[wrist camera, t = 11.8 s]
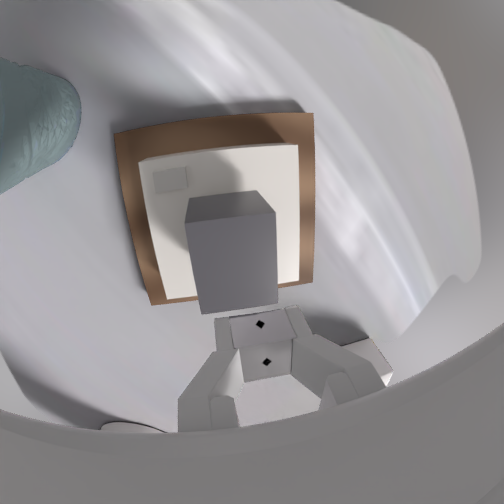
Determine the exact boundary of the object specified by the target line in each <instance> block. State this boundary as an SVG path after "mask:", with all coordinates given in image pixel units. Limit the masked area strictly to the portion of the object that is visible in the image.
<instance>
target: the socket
mask: <svg viewBox="0 0 504 504" xmlns="http://www.w3.org/2000/svg"><path fill="white" fill-rule="evenodd" d="M138 163H139V170H140V177H141V183H142V189H143V195H144V201H145V206H146V211H147V216H148V221H149V226H150V231H151V236H152V240H153V245H154V249H155V254H156V258H157V262H158V266H159V270H160V274H161V278H162V282H163V286H164V289H165V293H166V297H167V299H175V298H183V297H191V296H198V295H197V291H196V286H195V281H194V276H193V270H192V265H191V260H190V254H189V249H188V243H187V237H186V231H185V225H184V223H185V217H186V212H187V206H188V201H189V198H193V197H201V196H209V195H216V194H225V193H233V192H243V191H252V190H257V191H258V192H259V193H260V195H261V196H262V197H263V198H264V199H265V200H266V201H267V203H268V204H269V205H270V206H271V207H272V208H273V210H274V211H275V212H276V230H277V268H278V284H281V283H287V282H293V281H299V244H300V206H299V158H298V145H296V144H291V143H267V144H252V145H240V146H229V147H219V148H210V149H202V150H194V151H187V152H180V153H174V154H168V155H162V156H156V157H150V158H146V159H144V160H142V161H140V162H138Z"/></svg>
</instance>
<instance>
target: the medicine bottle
mask: <svg viewBox="0 0 504 504" xmlns="http://www.w3.org/2000/svg"><path fill="white" fill-rule="evenodd" d="M341 347H343V348H345V349H347V350H349V351H351V352H353V353H355V354H357V355H358V356H360V357H362V358H364V359H366V360H368V361H370V362H371V363H372V365H373V366H374V368H375V369H376V371H377V373H378V374H379V376H380V377H381V379H382V381H383V382H384V384H385V386H386V387H387V384H388V382H389V380H390V378H391V376H392V373H393V369H392V368H391V366H390V365H389V364H388V362H387V361H386V359H385V358H384V356H383V355H382V354H381V352H380V351H379V349H378V348H377V346H376V345H375V344H374V342H373V341H372V339H370V338H368V339H365V340H361V341H358V342H355V343H352V344H348V345H345V346H341Z"/></svg>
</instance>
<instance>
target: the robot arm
mask: <svg viewBox="0 0 504 504" xmlns="http://www.w3.org/2000/svg"><path fill="white" fill-rule="evenodd" d="M229 321H230V322H229ZM214 327H215V337H216V348H217V351H216V352H212V354H211V355H210V356H209V358H208V359H207V360H206V362H205V363H204V365H203V366H202V367H201V369H200V370H199V371H198V373H197V374H196V376H195V377H194V378H193V380H192V381H191V382H190V384H189V385H188V386H187V388H186V389H185V390H184V392H183V393H182V394H181V396H180V397H179V398H178V433H164V432H161V431H159V430H156V429H153V428H150V427H147V426H143V425H138V424H133V423H124V422H114V423H108V424H105V425H103V426H102V427H101V430H93V429H85V428H78V427H71V426H65V425H60V424H54V423H49V422H45V421H40V420H36V419H32V418H27V417H24V416H20V415H17V414H13V413H9V412H6V411H4V410H1V409H0V504H504V323H503V324H501V325H500V326H498V327H497V328H496V329H494V330H493V331H491V332H490V333H488V334H487V335H486V336H484V337H482V338H481V339H479V340H478V341H476V342H475V343H473V344H471V345H470V346H468V347H467V348H465V349H463V350H462V351H460V352H458V353H457V354H455V355H453V356H451V357H450V358H448V359H446V360H444V361H442V362H440V363H438V364H437V365H434V366H433V367H431V368H429V369H427V370H425V371H422V372H421V373H419V374H416V375H414V376H412V377H410V378H408V379H406V380H403V381H401V382H399V383H396V384H394V385H391V386H389V387H386V386H385V384H384V382H383V381H382V379H381V377H380V376H379V374H378V373H377V371H376V369H375V368H374V366H373V365H372V363H371V362H370V361H368V360H366V359H364V358H362V357H360V356H358V355H357V354H355V353H353V352H351V351H349V350H347V349H345V348H343V347H341V346H339V345H337V344H335V343H333V342H331V341H330V340H328V339H326V338H324V337H322V336H320V335H318V334H314V335H313V334H312V332H311V330H310V328H309V326H308V324H307V322H306V320H305V318H304V316H303V314H302V312H301V310H300V308H299V307H298V306H297V305H296V306H292V307H287V308H283V309H278V310H272V311H266V312H260V313H253V314H245V315H238V316H229V317H223V318H214ZM288 374H291V375H292V376H293V377H294V378H295V379H297V380H298V381H299V382H300V383H302V384H303V385H304V386H305V387H307V388H308V389H309V390H311V391H312V392H313V393H314V394H316V395H317V396H318V397H320V398H321V403H320V407H319V410H318V411H315V412H312V413H308V414H304V415H300V416H296V417H291V418H287V419H282V420H277V421H272V422H267V423H262V424H256V425H250V426H243V427H240V424H239V419H238V415H237V411H236V407H235V402H236V400H237V398H238V396H239V394H240V392H241V390H242V387H243V385H244V382H250V381H255V380H260V379H265V378H271V377H277V376H282V375H288Z"/></svg>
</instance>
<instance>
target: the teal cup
mask: <svg viewBox="0 0 504 504" xmlns="http://www.w3.org/2000/svg"><path fill="white" fill-rule="evenodd" d="M80 120H81V102H80V98H79V96H78V93H77V91H76V90H75V88H74V87H73V86H72V85H71V84H70V83H69V82H68V81H66V80H64V79H62V78H60V77H57V76H55V75H52V74H49V73H45V72H43V71H42V70H39V69H35V68H33V67H31V66H27V65H23V66H19V65H18V64H17V63H15V62H10V61H9V60H7V59H3V58H0V194H2V193H4V192H5V191H7V190H8V189H10V188H12V187H13V186H15V185H17V184H18V183H20V182H21V181H23V180H24V179H25V178H28V177H30V176H32V175H34V174H35V173H37V172H39V171H40V170H42V169H44V168H46V167H48V166H50V165H52V164H54V163H56V162H57V161H59V160H60V159H61V158H62V157H63V156H64V155H65V154H66V153H67V152H68V150H69V148H71V147H72V145H73V142H74V140H75V139H76V135H77V133H78V130H79V125H80Z"/></svg>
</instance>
